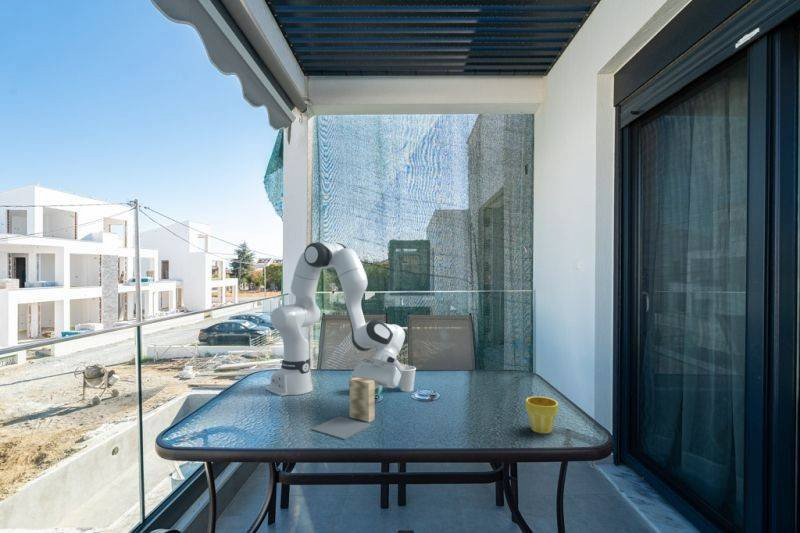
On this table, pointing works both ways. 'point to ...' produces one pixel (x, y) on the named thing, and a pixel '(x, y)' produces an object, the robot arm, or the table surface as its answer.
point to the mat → (341, 427)
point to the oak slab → (362, 399)
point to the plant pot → (541, 413)
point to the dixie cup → (407, 378)
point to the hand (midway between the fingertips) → (367, 393)
